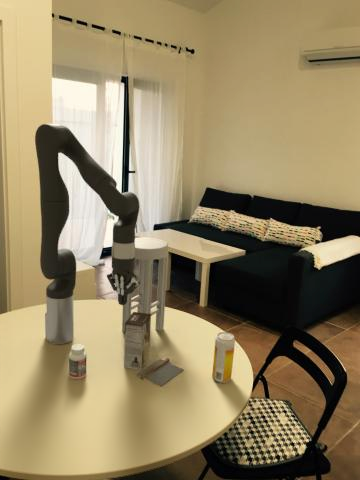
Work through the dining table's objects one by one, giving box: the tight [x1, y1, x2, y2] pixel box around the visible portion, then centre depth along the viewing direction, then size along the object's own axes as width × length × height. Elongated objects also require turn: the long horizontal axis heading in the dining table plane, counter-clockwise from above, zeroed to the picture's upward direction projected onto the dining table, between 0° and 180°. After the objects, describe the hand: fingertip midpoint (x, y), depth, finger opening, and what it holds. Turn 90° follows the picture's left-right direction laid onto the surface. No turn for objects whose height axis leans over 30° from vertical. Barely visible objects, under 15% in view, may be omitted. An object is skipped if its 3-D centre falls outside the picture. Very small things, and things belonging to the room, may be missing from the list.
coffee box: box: [123, 311, 152, 371], centre depth 149 cm, size 9×6×16 cm
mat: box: [136, 358, 184, 387], centre depth 145 cm, size 10×12×1 cm
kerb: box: [140, 357, 170, 381], centre depth 146 cm, size 1×14×1 cm, turn 146°
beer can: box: [211, 331, 236, 384], centre depth 142 cm, size 6×6×15 cm
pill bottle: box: [68, 343, 87, 380], centre depth 140 cm, size 5×5×10 cm
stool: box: [121, 236, 169, 333], centre depth 168 cm, size 16×16×35 cm
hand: (122, 304), depth 149 cm, fingers closed
